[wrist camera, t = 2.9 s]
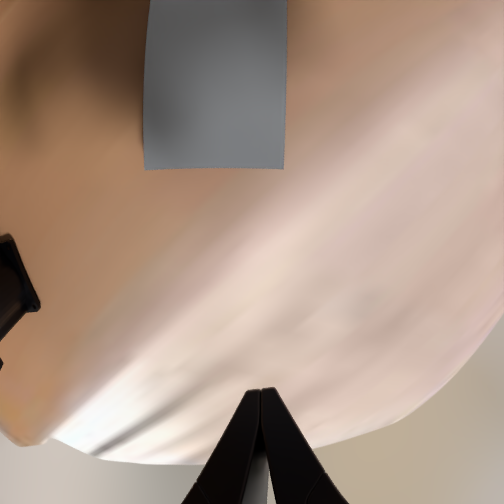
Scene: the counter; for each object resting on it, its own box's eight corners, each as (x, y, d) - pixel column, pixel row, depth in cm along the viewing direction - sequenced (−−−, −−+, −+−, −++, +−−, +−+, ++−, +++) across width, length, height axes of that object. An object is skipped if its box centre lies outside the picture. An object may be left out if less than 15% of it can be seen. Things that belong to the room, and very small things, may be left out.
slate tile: (279, 163, 16) (283, 169, 14) (158, 164, 16) (144, 170, 14) (282, -41, 11) (285, -59, 8) (169, -36, 10) (159, -53, 8)
